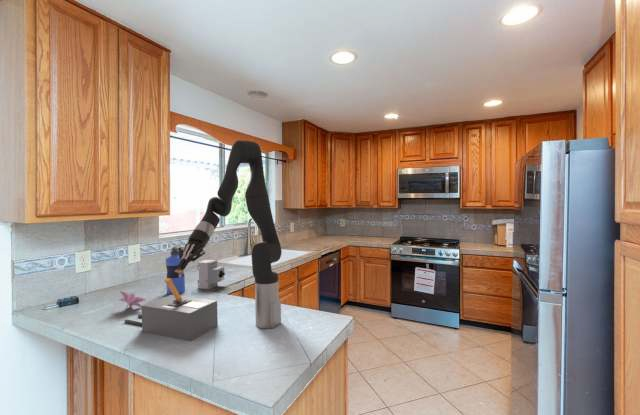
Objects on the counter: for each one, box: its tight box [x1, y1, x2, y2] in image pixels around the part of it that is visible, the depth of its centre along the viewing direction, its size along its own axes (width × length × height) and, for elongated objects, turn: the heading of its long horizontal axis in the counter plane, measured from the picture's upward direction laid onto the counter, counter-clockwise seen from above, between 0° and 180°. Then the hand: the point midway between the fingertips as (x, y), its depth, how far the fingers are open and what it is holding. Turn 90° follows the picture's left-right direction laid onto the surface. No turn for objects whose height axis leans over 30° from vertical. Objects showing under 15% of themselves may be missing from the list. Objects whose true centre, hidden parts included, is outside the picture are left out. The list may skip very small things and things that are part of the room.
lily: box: [117, 290, 147, 313], centre depth 136 cm, size 12×12×10 cm
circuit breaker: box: [196, 259, 226, 290], centre depth 173 cm, size 8×14×15 cm, turn 78°
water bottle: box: [165, 246, 186, 296], centre depth 163 cm, size 9×9×25 cm
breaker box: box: [124, 295, 219, 342], centre depth 119 cm, size 39×14×11 cm, turn 69°
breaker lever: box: [164, 277, 183, 302], centre depth 114 cm, size 2×1×12 cm
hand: (180, 269), depth 116 cm, fingers closed
